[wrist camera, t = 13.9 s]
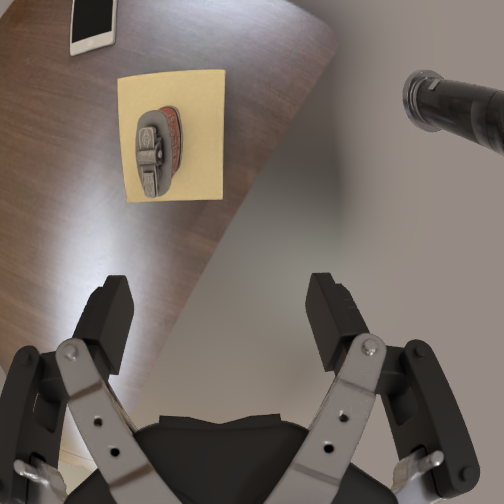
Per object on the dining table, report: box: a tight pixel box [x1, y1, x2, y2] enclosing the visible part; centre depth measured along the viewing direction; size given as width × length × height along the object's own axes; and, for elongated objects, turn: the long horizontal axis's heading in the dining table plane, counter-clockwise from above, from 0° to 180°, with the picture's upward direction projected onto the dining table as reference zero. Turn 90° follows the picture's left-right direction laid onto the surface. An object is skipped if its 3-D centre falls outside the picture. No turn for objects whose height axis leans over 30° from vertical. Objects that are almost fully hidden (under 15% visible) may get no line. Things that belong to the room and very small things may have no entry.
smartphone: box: [70, 0, 117, 56], centre depth 21 cm, size 7×16×1 cm, turn 0°
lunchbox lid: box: [118, 70, 225, 203], centre depth 29 cm, size 12×16×1 cm
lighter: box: [135, 105, 183, 199], centre depth 24 cm, size 8×3×10 cm, turn 178°
